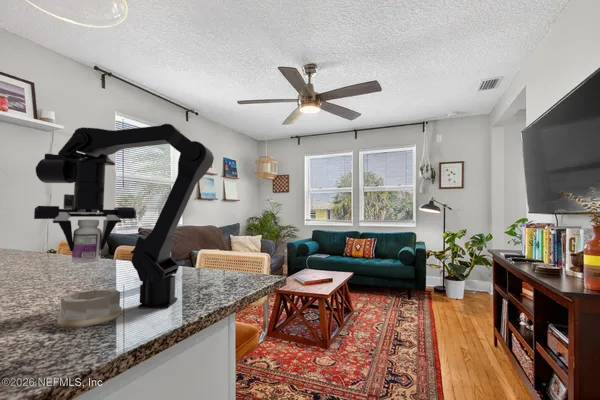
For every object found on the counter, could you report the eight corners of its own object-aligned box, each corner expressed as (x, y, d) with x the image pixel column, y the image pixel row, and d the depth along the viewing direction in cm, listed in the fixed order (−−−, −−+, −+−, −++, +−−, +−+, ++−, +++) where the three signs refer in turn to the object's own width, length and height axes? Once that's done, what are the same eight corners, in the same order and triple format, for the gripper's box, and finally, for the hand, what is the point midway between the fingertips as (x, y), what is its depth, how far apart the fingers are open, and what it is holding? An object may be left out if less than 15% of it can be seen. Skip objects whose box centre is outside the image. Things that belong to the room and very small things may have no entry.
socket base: (130, 308, 64) (131, 287, 64) (102, 326, 53) (103, 302, 54) (81, 309, 63) (82, 288, 63) (42, 327, 53) (43, 302, 53)
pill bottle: (81, 259, 69) (84, 219, 70) (104, 259, 70) (107, 219, 70) (65, 263, 64) (68, 219, 65) (90, 263, 64) (93, 220, 65)
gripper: (127, 188, 80) (125, 244, 79) (36, 183, 67) (32, 250, 67) (137, 185, 72) (135, 248, 71) (36, 178, 59) (32, 255, 58)
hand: (87, 250), depth 67 cm, fingers closed on pill bottle, 5 cm apart
